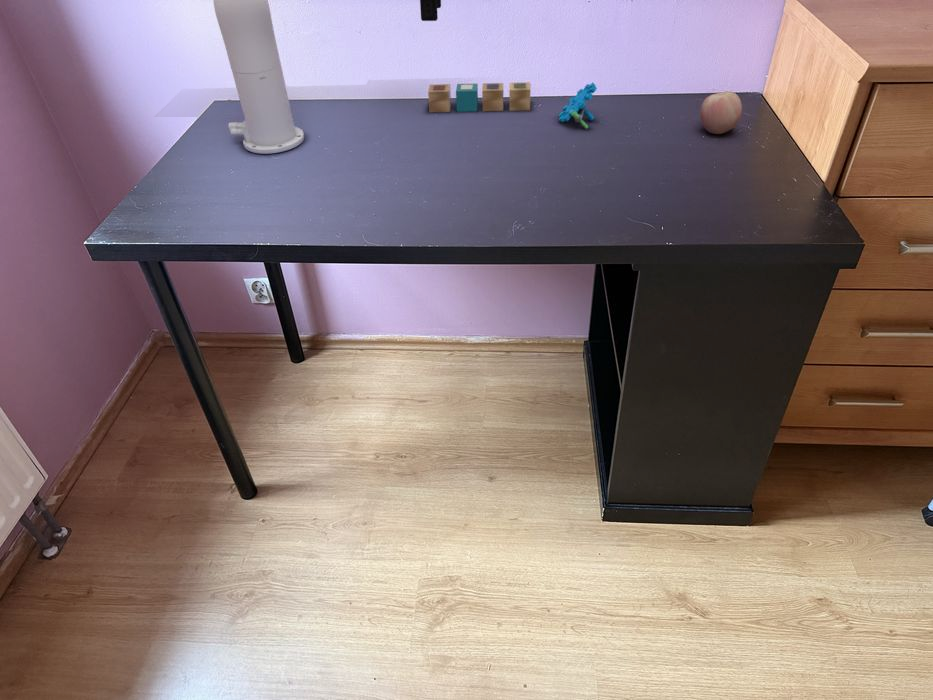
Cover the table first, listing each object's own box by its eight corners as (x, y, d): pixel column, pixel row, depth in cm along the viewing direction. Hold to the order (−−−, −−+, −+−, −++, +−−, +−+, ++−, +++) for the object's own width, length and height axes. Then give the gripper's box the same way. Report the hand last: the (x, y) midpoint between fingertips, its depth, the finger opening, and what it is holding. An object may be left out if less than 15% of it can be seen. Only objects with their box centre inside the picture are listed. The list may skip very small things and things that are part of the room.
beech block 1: (429, 112, 149) (427, 91, 146) (431, 104, 152) (429, 84, 149) (449, 112, 148) (448, 90, 145) (451, 104, 152) (450, 83, 149)
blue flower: (561, 101, 146) (595, 72, 139) (579, 120, 148) (613, 92, 141) (551, 128, 139) (587, 98, 132) (570, 147, 141) (606, 119, 134)
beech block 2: (482, 111, 148) (482, 90, 145) (483, 103, 151) (482, 82, 148) (503, 110, 148) (503, 89, 144) (503, 103, 151) (503, 82, 148)
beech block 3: (509, 110, 147) (509, 89, 144) (509, 103, 151) (509, 82, 148) (530, 110, 147) (530, 89, 144) (529, 102, 151) (530, 81, 148)
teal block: (456, 111, 148) (455, 90, 145) (458, 104, 152) (457, 83, 149) (477, 111, 148) (476, 90, 145) (478, 103, 151) (477, 82, 148)
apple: (724, 122, 138) (732, 83, 133) (744, 136, 132) (754, 96, 127) (689, 127, 137) (697, 88, 131) (709, 142, 131) (717, 102, 126)
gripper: (411, -94, 128) (417, 3, 139) (401, -80, 115) (408, 25, 126) (450, -94, 128) (452, 3, 139) (444, -81, 115) (447, 25, 126)
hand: (431, 13), depth 133 cm, fingers open, 9 cm apart
